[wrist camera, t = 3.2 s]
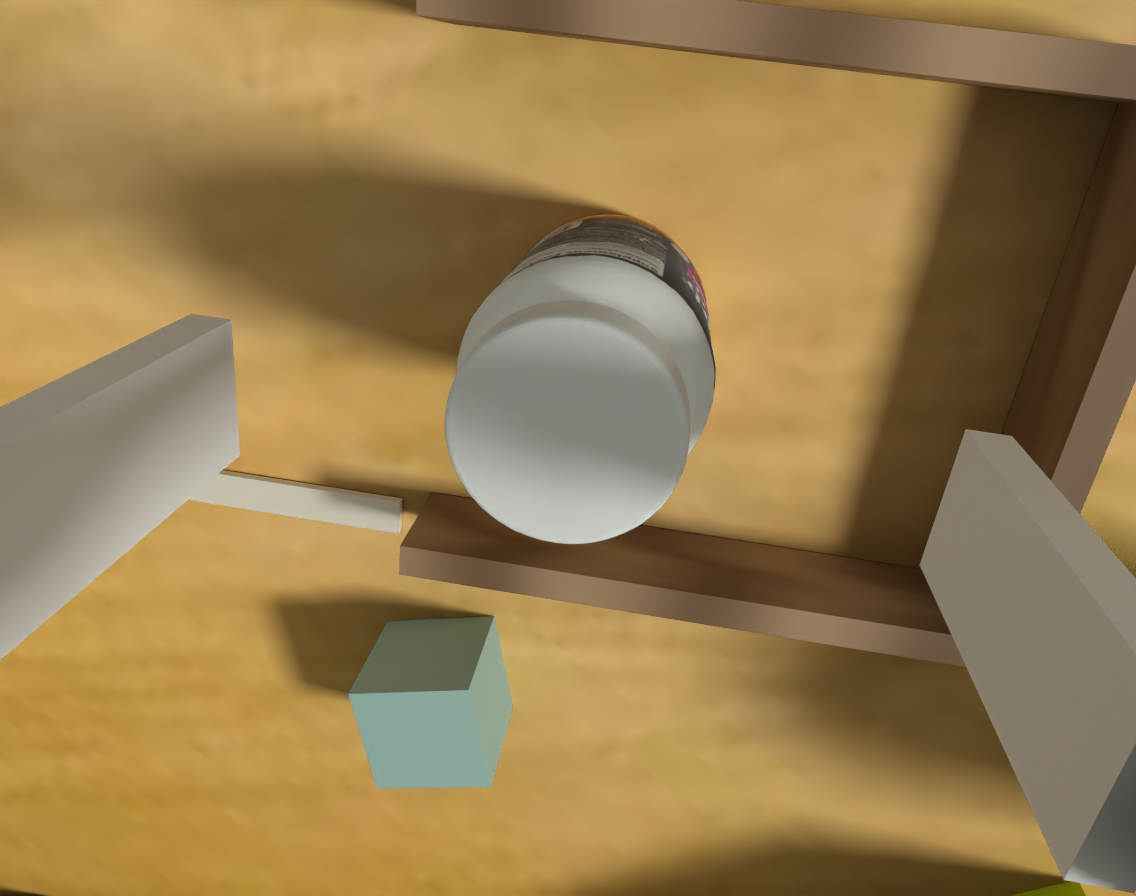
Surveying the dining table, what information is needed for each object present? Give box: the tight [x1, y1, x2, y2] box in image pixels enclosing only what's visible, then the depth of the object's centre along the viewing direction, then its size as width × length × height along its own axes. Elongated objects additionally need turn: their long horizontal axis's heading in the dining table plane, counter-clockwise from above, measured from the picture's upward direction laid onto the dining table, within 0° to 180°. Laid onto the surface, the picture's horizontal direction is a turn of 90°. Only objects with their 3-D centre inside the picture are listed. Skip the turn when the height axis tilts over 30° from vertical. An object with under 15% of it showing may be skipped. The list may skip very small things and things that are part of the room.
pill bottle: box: [445, 214, 715, 544], centre depth 20 cm, size 6×6×10 cm
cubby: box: [399, 0, 1136, 667], centre depth 23 cm, size 18×16×4 cm
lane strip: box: [188, 470, 403, 534], centre depth 29 cm, size 12×1×1 cm, turn 84°
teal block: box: [348, 616, 513, 788], centre depth 29 cm, size 4×4×4 cm
